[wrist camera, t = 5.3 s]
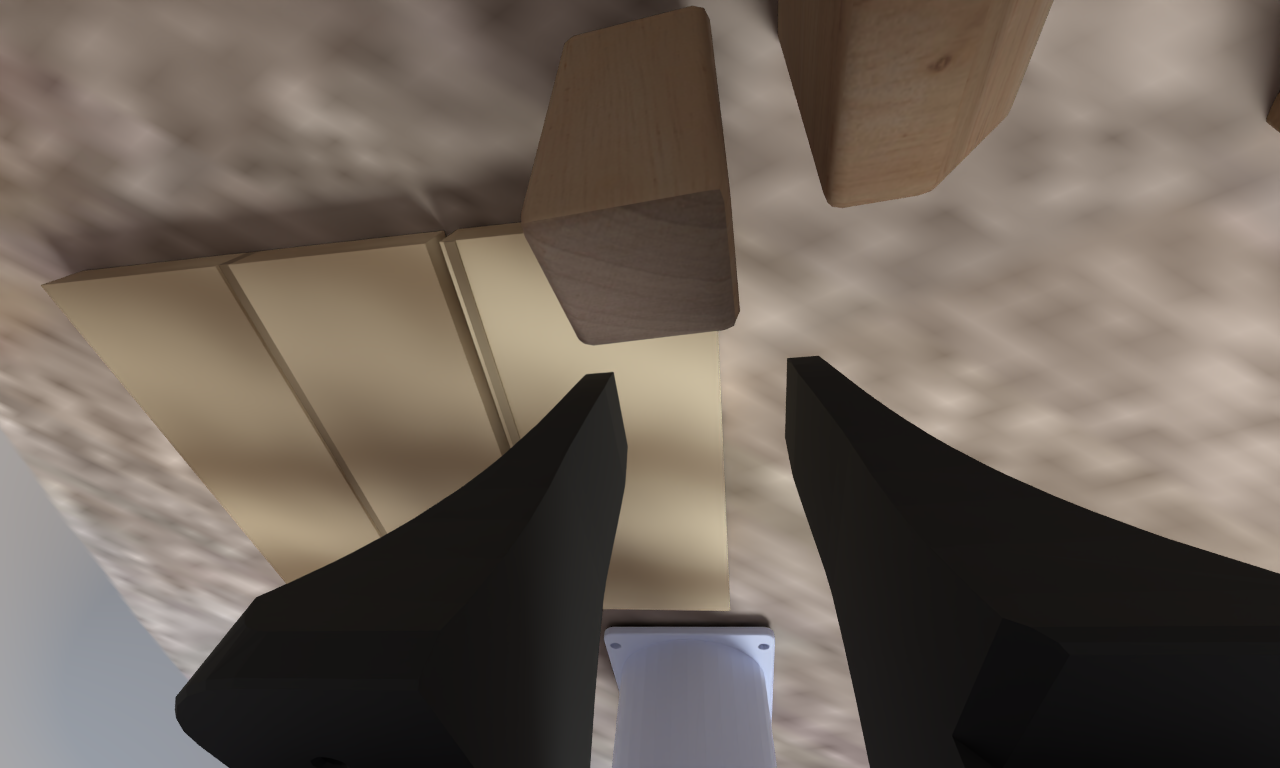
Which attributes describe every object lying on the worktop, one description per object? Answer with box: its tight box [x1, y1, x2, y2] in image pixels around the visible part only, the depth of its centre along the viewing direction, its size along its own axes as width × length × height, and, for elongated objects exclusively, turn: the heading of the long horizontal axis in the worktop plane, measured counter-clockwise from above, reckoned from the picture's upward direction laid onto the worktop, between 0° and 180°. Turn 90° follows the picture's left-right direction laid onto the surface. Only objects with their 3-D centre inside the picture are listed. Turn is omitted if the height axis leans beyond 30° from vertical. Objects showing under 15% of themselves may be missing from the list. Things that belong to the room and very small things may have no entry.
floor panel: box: [41, 231, 510, 584], centre depth 18 cm, size 16×12×1 cm
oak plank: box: [439, 222, 730, 611], centre depth 17 cm, size 16×7×1 cm, turn 7°
